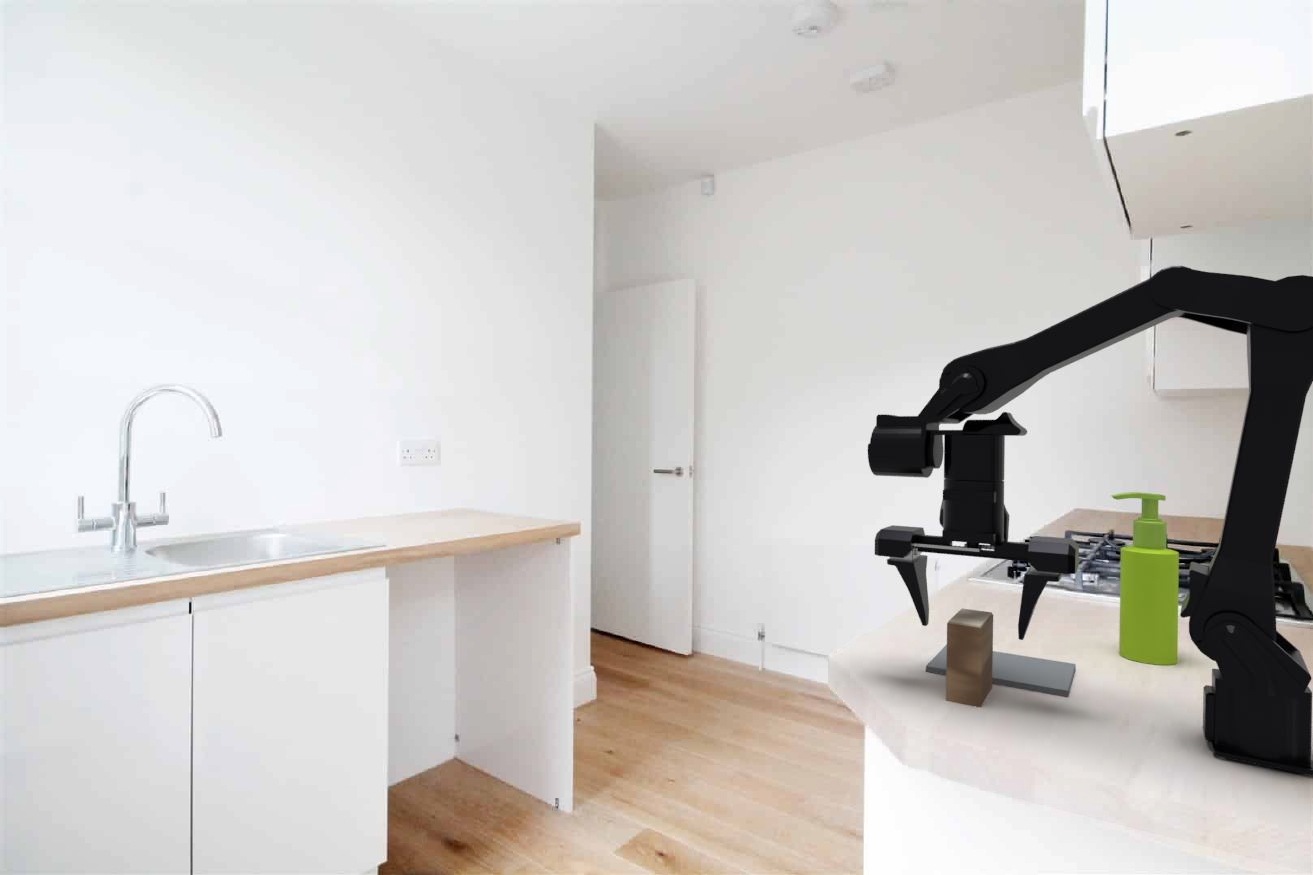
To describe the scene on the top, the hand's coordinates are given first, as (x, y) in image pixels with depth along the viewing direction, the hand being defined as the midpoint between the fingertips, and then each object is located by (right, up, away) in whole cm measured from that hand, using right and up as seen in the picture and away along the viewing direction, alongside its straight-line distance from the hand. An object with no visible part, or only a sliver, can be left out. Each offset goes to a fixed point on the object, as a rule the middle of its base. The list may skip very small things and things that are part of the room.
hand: (971, 631), depth 76 cm
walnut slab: (0, -7, 0) cm, 7 cm away
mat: (+7, -7, +8) cm, 12 cm away
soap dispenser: (+27, -7, +14) cm, 31 cm away
